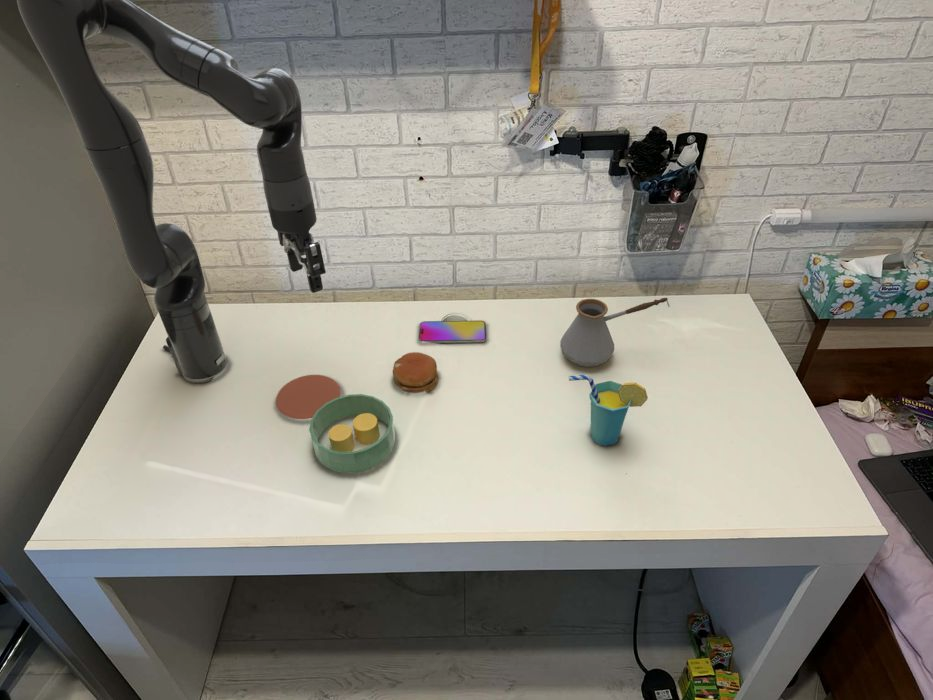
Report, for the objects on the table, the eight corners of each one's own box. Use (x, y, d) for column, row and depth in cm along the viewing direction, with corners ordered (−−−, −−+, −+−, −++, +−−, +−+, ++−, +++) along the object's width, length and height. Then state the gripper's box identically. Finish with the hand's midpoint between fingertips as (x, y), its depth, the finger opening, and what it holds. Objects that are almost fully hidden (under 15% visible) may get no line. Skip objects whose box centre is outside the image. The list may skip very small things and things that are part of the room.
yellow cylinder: (328, 454, 121) (324, 438, 118) (337, 438, 124) (334, 422, 121) (349, 459, 120) (345, 442, 117) (358, 442, 123) (355, 426, 120)
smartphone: (486, 340, 145) (418, 341, 145) (486, 342, 146) (418, 343, 146) (485, 320, 151) (420, 321, 151) (485, 322, 152) (420, 323, 152)
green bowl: (301, 466, 119) (294, 444, 116) (335, 410, 130) (331, 388, 127) (377, 483, 116) (374, 461, 112) (406, 424, 127) (404, 401, 123)
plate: (264, 415, 130) (263, 412, 129) (295, 373, 139) (294, 370, 139) (324, 428, 127) (323, 424, 126) (351, 383, 136) (351, 380, 136)
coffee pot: (562, 373, 138) (567, 316, 128) (556, 339, 146) (561, 283, 137) (664, 372, 137) (677, 314, 128) (652, 338, 146) (664, 282, 136)
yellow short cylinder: (351, 442, 123) (348, 428, 120) (361, 425, 126) (358, 411, 124) (374, 447, 122) (371, 432, 119) (383, 430, 125) (381, 415, 123)
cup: (562, 448, 122) (569, 389, 112) (562, 418, 127) (568, 359, 118) (639, 453, 120) (652, 394, 111) (635, 422, 126) (647, 364, 117)
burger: (444, 389, 135) (443, 372, 132) (400, 400, 132) (398, 383, 129) (430, 360, 142) (429, 343, 139) (388, 370, 140) (386, 353, 137)
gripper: (252, 189, 112) (272, 269, 123) (285, 221, 103) (304, 305, 113) (293, 177, 115) (309, 257, 126) (328, 208, 106) (343, 290, 117)
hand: (306, 280), depth 120 cm, fingers open, 8 cm apart
